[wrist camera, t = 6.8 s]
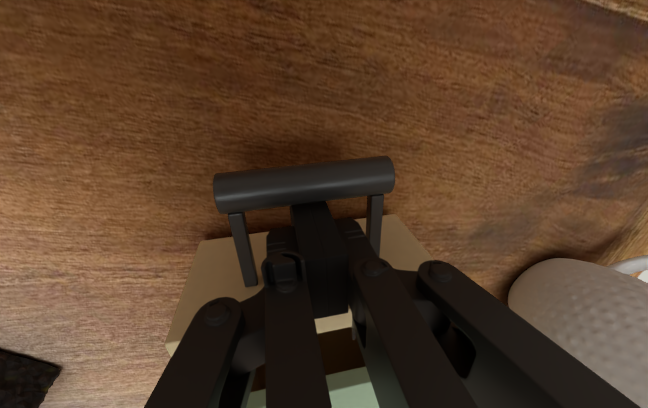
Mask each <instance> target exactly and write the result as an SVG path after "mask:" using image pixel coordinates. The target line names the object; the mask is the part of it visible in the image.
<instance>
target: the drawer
mask: <svg viewBox="0 0 648 408" xmlns="http://www.w3.org/2000/svg"><path fill="white" fill-rule="evenodd" d="M394 184H395V171H394V166H393V163H392V161H391V159H390V158H389V157H388V156H378V157H369V158H359V159H350V160H340V161H331V162H321V163H312V164H302V165H293V166H283V167H274V168H264V169H255V170H246V171H236V172H227V173H217V174H215V175H214V178H213V193H214V199H215V203H216V206H217V209H218V211H219V213H220V214H228V219H229V223H230V227H231V232H232V236H233V237H226V238H219V239H212V240H205V241H200V243H199V245H198V248H197V251H196V254H195V257H194V260H193V263H192V266H191V269H190V272H189V274H188V277H187V280H186V283H185V286H184V289H183V292H182V295H181V298H180V301H179V303H178V306H177V309H176V312H175V315H174V318H173V321H172V324H171V327H170V330H169V332H168V335H167V338H166V341H165V347H166V349H167V351H168V353H169V355H170V357H172V356H173V354H174V352H175V350H176V348H177V346H178V345H179V343H180V341H181V339H182V337H183V335H184V334H185V332H186V330H187V328H188V326H189V325H190V323H191V321H192V319H193V317H194V315H195V314H196V313H197V311H198V310H199V309H200V308H201V307H202V306H203V305H205V304H206V303H207V302H209V301H211V300H213V299H216V298H220V297H231V298H234V299H236V300H237V301H239V302H241V301H243V300H246V299H248V298H250V297H252V296H254V295H255V294H257V293H258V292H259V291H260V290H261V289H262V288H263V287H264V282H263V277H262V272H261V265H262V262H263V260H264V259H265V258H266V257H267V256H266V253H267V252H266V236H267V235H268V233H269V232H262V233H255V234H249V231H248V227H247V222H246V217H245V212H244V211H252V210H260V209H268V208H276V207H284V206H291V205H299V204H307V203H315V202H323V201H331V200H338V199H346V198H354V197H362V196H367V214H366V218H362V219H355V221H357V222H358V223H359V225H360V226H361V228H362V230H363V231H364V233H365V235H366V237H367V238H368V240H369V242H370V244H371V245H372V247H373V249H374V250H375V252H376V254H377V256H378V257H379V258H382V259H384V260H386V261H387V262H388V263H389V264H390V265H391V266H392V267H393V268H395V269H399V270H408V271H418V268H419V266H420V264H422V263H423V262H425V261H429V260H434V259H433V258H432V257H431V255H430V254H429V253H428V252H427V251H426V249H425V248H424V247H423V246H422V245H421V244H420V242H419V241H418V240H417V239H416V238H415V236H414V235H413V234H412V233H411V232H410V231H409V229H408V228H407V227H406V226H405V225H404V223H403V222H402V221H401V220H400V219H399V218H398V216H397V215H396V214H391V215H384V216H382V215H383V201H384V194H386V193H390V192H392V190H393V188H394ZM314 320H315V325H316V330H317V335H318V340H319V345H320V350H321V355H322V360H323V365H324V370H325V375H330V374H334V373H339V372H343V371H347V370H352V369H356V368H361V367H365V366H366V365H365V362H364V359H363V356H362V353H361V350H360V347H359V344H358V341H357V338H356V335H355V340H352V312H351V309H350V306H349V304H348V313H345V314H340V315H335V316H330V317H325V318H319V319H314ZM263 389H266V374H265V363H264V364H263V365H261V366H259V367H257V368H256V372H255V375H254V379H253V383H252V387H251V391H250V392H254V391H259V390H263Z"/></svg>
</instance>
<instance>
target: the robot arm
mask: <svg viewBox="0 0 648 408" xmlns="http://www.w3.org/2000/svg"><path fill="white" fill-rule="evenodd" d="M290 215H291V223H292V226H289V227H282V228H275V229H271V230H270V231H269V233H268V235H267V236H266V252H267V253H266V256H267V257H266V258H265V259H264V260H263V262H262V265H261V272H262V277H263V282H264V287H263V288H262V289H261V290H260V291H259V292H258V293H257V294H255V295H254V296H252V297H250V298H248V299H246V300H243V301H241V302H239V301H237V300H236V299H234V298H231V297H220V298H216V299H213V300H211V301H209V302H207V303H206V304H205V305H203V306H202V307H201V308H200V309H199V310H198V311H197V313H196V314H195V315H194V317H193V319H192V321H191V323H190V325H189V326H188V328H187V330H186V332H185V334H184V335H183V337H182V339H181V341H180V343H179V345H178V346H177V348H176V350H175V352H174V354H173V356H172V357H171V359H170V361H169V363H168V365H167V366H166V368H165V370H164V372H163V374H162V376H161V377H160V379H159V381H158V383H157V385H156V387H155V388H154V390H153V392H152V394H151V396H150V397H149V399H148V401H147V403H146V405H145V407H144V408H246V406H247V403H248V399H249V395H250V391H251V387H252V383H253V379H254V375H255V372H256V368H257V367H259V366H261V365H263V364H264V363H265V374H266V408H332V405H331V400H330V395H329V390H328V385H327V380H326V375H325V370H324V365H323V360H322V355H321V350H320V345H319V340H318V335H317V330H316V325H315V320H314V319H319V318H325V317H330V316H335V315H340V314H345V313H348V304H349V306H350V309H351V312H352V340H355V335H356V338H357V341H358V344H359V347H360V350H361V353H362V356H363V359H364V362H365V365H366V368H367V371H368V374H369V377H370V380H371V383H372V386H373V390H374V393H375V396H376V399H377V402H378V405H379V408H641V407H640V406H638V405H637V404H636V403H634V402H633V401H632V400H630V399H629V398H628V397H626V396H625V395H624V394H622V393H621V392H620V391H618V390H617V389H616V388H614V387H613V386H612V385H610V384H609V383H608V382H606V381H605V380H604V379H602V378H601V377H600V376H599V375H597V374H596V373H595V372H593V371H592V370H591V369H589V368H588V367H587V366H585V365H584V364H583V363H581V362H580V361H579V360H577V359H576V358H575V357H573V356H572V355H571V354H569V353H568V352H567V351H565V350H564V349H563V348H561V347H560V346H559V345H557V344H556V343H555V342H553V341H552V340H551V339H549V338H548V337H547V336H546V335H544V334H543V333H542V332H540V331H539V330H538V329H536V328H535V327H534V326H532V325H531V324H530V323H528V322H527V321H526V320H524V319H523V318H522V317H520V316H519V315H518V314H516V313H515V312H514V311H512V310H511V309H510V308H508V307H507V306H506V305H504V304H503V303H502V302H500V301H499V300H498V299H496V298H495V297H494V296H492V295H491V294H490V293H489V292H487V291H486V290H485V289H483V288H482V287H481V286H479V285H478V284H477V283H475V282H474V281H473V280H471V279H470V278H469V277H467V276H466V275H465V274H463V273H462V272H461V271H459V270H458V269H457V268H455V267H454V266H452V265H450V264H449V263H446V262H443V261H438V260H429V261H425V262H423V263H422V264H420V266H419V268H418V271H408V270H399V269H395V268H393V267H392V266H391V265H390V264H389V263H388V262H387V261H386V260H384V259H382V258H379V257H378V256H377V254H376V252H375V250H374V249H373V247H372V245H371V244H370V242H369V240H368V238H367V237H366V235H365V233H364V231H363V230H362V228H361V226H360V225H359V223H358V222H357V221H355V220H354V219H352V218H351V217H348V218H341V219H333V217H332V215H331V213H330V210H329V208H328V206H327V203H326V201H323V202H315V203H307V204H299V205H291V206H290Z"/></svg>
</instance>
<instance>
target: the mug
mask: <svg viewBox="0 0 648 408" xmlns="http://www.w3.org/2000/svg"><path fill="white" fill-rule="evenodd" d="M644 270H648V255H643V256H638V257H633V258H630V259H626V260H623V261H619V262H617V263H614V264H612V265H609V266H607V267H604V266H601V265H597V264H595V263H591V262H585V261H580V260H575V259H567V258H553V259H548V260H544V261H542V262H539V263H537V264H535V265H533V266H531V267H530V268H528V269H527V270H526V271H524V272H523V273H522V274H521V275H520V276H519V277H518V278H517V279H516V280H515V282H514V283H513V285H512V286H511V288H510V291H509V294H508V306H509V308H510V309H511V310H512V311H514V312H515V313H516V314H518V315H519V316H520V317H522V318H523V319H524V320H526V321H527V322H528V323H530V324H531V325H532V326H534V327H535V328H536V329H538V330H539V331H540V332H542V333H543V334H544V335H546V336H547V337H548V338H549V339H551V340H552V341H553V342H555V343H556V344H557V345H559V346H560V347H561V348H563V349H564V350H565V351H567V352H568V353H569V354H571V355H572V356H573V357H575V358H576V359H577V360H579V361H580V362H581V363H583V364H584V365H585V366H587V367H588V368H589V369H591V370H592V371H593V372H595V373H596V374H597V375H599V376H600V377H601V378H602V379H604V380H605V381H606V382H608V383H609V384H610V385H612V386H613V387H614V388H616V389H617V390H618V391H620V392H621V393H622V394H624V395H625V396H626V397H628V398H629V399H630V400H632V401H633V402H634V403H636V404H637V405H638V406H640V407H641V408H648V283H646V282H644V281H642V280H640V279H638V278H636V277H632V276H630V274H632V273H635V272H639V271H644Z"/></svg>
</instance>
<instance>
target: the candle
mask: <svg viewBox="0 0 648 408" xmlns="http://www.w3.org/2000/svg"><path fill="white" fill-rule="evenodd" d="M59 375H60V370H59V369H57V368H54V367H52V366H50V365H48V364H45V363H41V362H37V361H33V360H30V359H26V358H22V357H18V356H13V355H10V354H7V353H4V352H2V351H0V408H39V405H40V404H41V403H42V402H43V401H44V397H45V395H46V394H47V393H48V388H50V387H51V386H52V385H53V382H54V381H55V379H56V378H57V377H58V376H59Z"/></svg>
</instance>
